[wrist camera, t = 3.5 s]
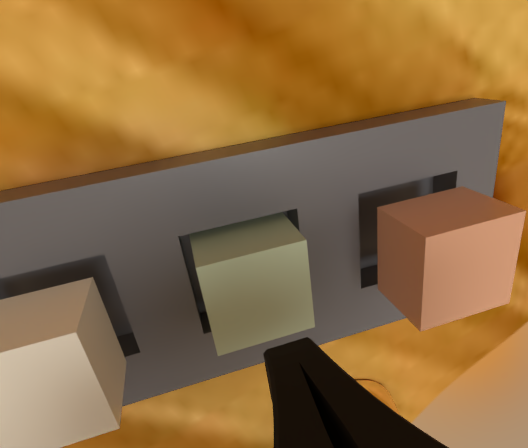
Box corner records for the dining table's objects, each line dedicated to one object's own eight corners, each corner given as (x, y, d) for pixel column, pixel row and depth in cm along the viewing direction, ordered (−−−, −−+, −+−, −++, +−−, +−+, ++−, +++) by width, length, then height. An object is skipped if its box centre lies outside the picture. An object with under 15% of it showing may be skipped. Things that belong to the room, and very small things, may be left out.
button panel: (456, 278, 21) (479, 295, 20) (4, 413, 17) (-11, 448, 15) (474, 98, 17) (506, 100, 15) (-123, 215, 13) (-162, 235, 11)
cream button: (126, 361, 14) (119, 428, 12) (17, 393, 14) (-17, 472, 11) (93, 277, 13) (75, 332, 10) (-34, 308, 12) (-89, 376, 9)
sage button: (290, 287, 17) (314, 326, 15) (208, 310, 17) (217, 356, 14) (281, 210, 16) (306, 239, 13) (188, 232, 15) (195, 267, 12)
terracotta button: (454, 266, 17) (509, 302, 14) (377, 288, 16) (420, 331, 14) (462, 186, 15) (526, 210, 13) (377, 207, 15) (425, 237, 12)
